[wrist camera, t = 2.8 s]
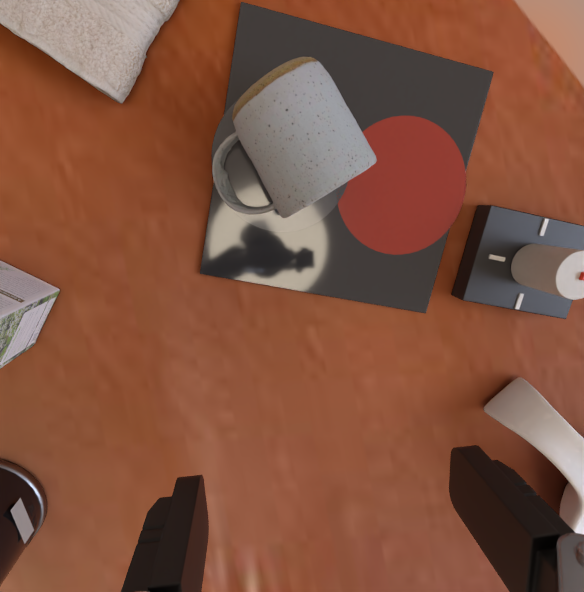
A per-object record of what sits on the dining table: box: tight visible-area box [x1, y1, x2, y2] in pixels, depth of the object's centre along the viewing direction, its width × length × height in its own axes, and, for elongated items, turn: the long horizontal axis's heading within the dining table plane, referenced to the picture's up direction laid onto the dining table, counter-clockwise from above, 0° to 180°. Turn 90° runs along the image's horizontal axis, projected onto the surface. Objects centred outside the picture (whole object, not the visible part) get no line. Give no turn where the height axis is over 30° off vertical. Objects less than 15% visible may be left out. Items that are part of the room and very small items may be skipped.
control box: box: [452, 205, 584, 319], centre depth 34 cm, size 10×8×2 cm
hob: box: [200, 2, 494, 313], centre depth 31 cm, size 21×20×1 cm
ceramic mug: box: [212, 57, 377, 218], centre depth 27 cm, size 11×8×8 cm
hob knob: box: [511, 244, 584, 300], centre depth 30 cm, size 4×4×5 cm
